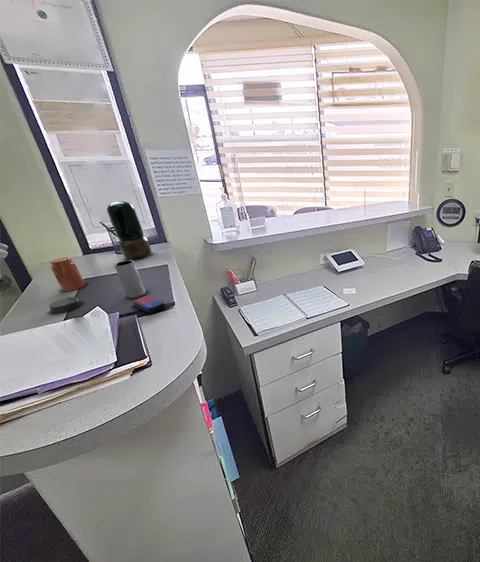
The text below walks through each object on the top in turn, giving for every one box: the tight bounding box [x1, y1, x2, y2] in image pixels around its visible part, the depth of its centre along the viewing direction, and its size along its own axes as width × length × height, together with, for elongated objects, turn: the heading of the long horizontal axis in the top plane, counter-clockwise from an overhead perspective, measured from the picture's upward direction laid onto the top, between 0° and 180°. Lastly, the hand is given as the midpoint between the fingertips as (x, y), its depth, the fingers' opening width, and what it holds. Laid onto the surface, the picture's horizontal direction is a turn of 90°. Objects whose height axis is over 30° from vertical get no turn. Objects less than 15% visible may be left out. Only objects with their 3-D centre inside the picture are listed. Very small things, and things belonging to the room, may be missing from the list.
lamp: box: [106, 200, 153, 260], centre depth 121 cm, size 10×10×22 cm
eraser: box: [133, 295, 165, 315], centre depth 84 cm, size 11×4×2 cm, turn 56°
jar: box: [49, 256, 86, 292], centre depth 98 cm, size 6×6×10 cm
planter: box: [114, 259, 147, 299], centre depth 90 cm, size 4×4×10 cm
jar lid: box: [48, 296, 81, 314], centre depth 86 cm, size 6×6×2 cm
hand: (6, 252), depth 88 cm, fingers open, 8 cm apart
